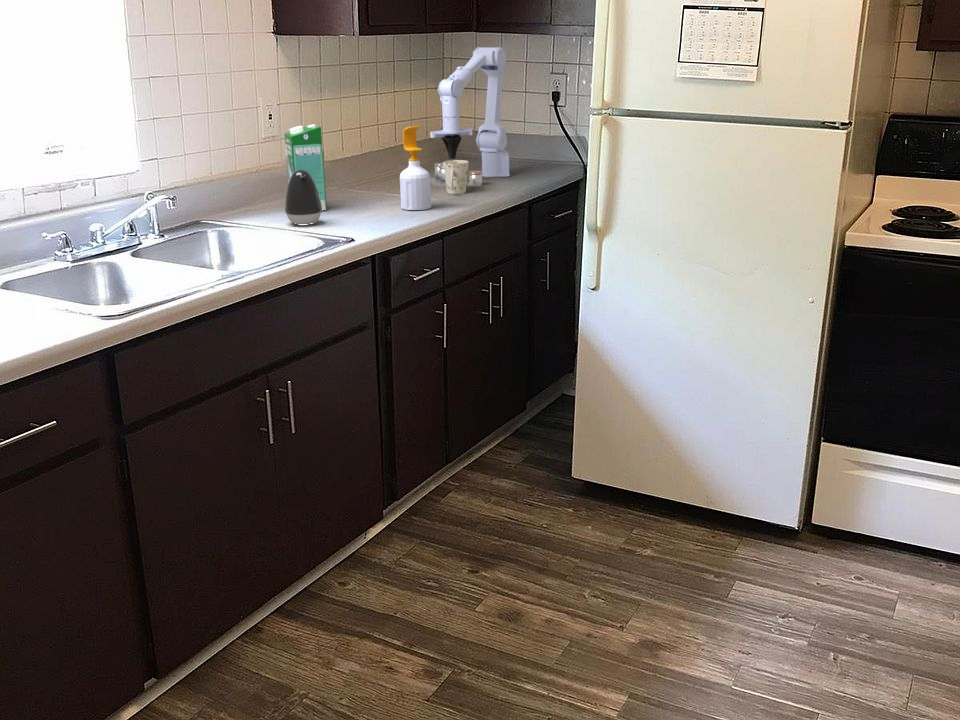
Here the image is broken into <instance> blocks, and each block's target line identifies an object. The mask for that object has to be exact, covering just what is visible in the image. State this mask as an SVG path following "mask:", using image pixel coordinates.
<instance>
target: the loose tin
mask: <svg viewBox="0 0 960 720" xmlns="http://www.w3.org/2000/svg"><path fill="white" fill-rule="evenodd" d="M482 173H483V172H482V170H468V179H469V181H468V183H469V184H468V185H469V187H482V186H483V176H482Z"/></svg>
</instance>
